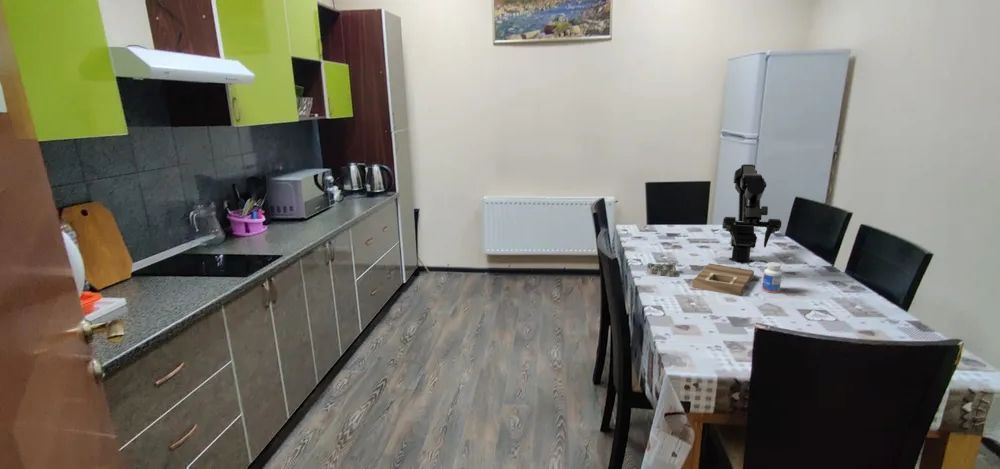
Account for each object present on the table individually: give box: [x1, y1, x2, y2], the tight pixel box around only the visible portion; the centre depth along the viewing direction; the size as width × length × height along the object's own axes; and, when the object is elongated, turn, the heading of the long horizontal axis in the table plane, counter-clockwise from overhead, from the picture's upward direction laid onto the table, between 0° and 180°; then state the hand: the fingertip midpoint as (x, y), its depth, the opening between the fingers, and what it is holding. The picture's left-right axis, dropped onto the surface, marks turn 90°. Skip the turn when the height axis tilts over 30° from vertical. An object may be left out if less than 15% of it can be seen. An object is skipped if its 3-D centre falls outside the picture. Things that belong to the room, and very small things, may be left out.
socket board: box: [691, 263, 755, 297], centre depth 182 cm, size 22×16×3 cm
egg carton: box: [646, 262, 677, 278], centre depth 193 cm, size 11×8×4 cm
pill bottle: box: [761, 261, 783, 294], centre depth 172 cm, size 6×5×10 cm
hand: (750, 246), depth 179 cm, fingers open, 9 cm apart
